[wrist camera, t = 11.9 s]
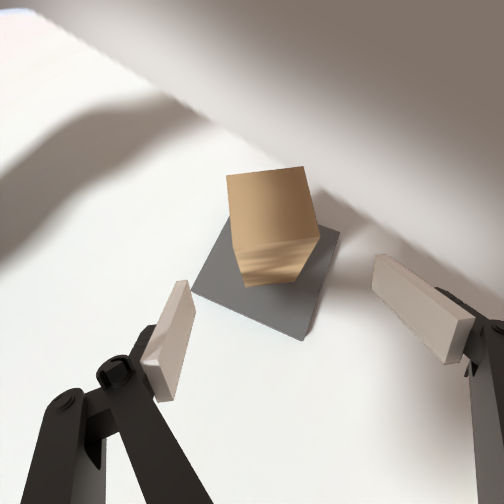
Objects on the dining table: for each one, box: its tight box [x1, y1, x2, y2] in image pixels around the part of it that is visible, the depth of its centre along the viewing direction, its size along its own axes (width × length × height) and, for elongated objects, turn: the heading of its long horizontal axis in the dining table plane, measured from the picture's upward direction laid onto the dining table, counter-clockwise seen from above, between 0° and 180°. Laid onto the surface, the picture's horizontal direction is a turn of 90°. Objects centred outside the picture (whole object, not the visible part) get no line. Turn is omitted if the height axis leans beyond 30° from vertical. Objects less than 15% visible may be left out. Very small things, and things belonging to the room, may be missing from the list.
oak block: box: [226, 166, 320, 287], centre depth 19 cm, size 5×5×11 cm
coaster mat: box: [190, 216, 340, 341], centre depth 25 cm, size 12×12×2 cm
